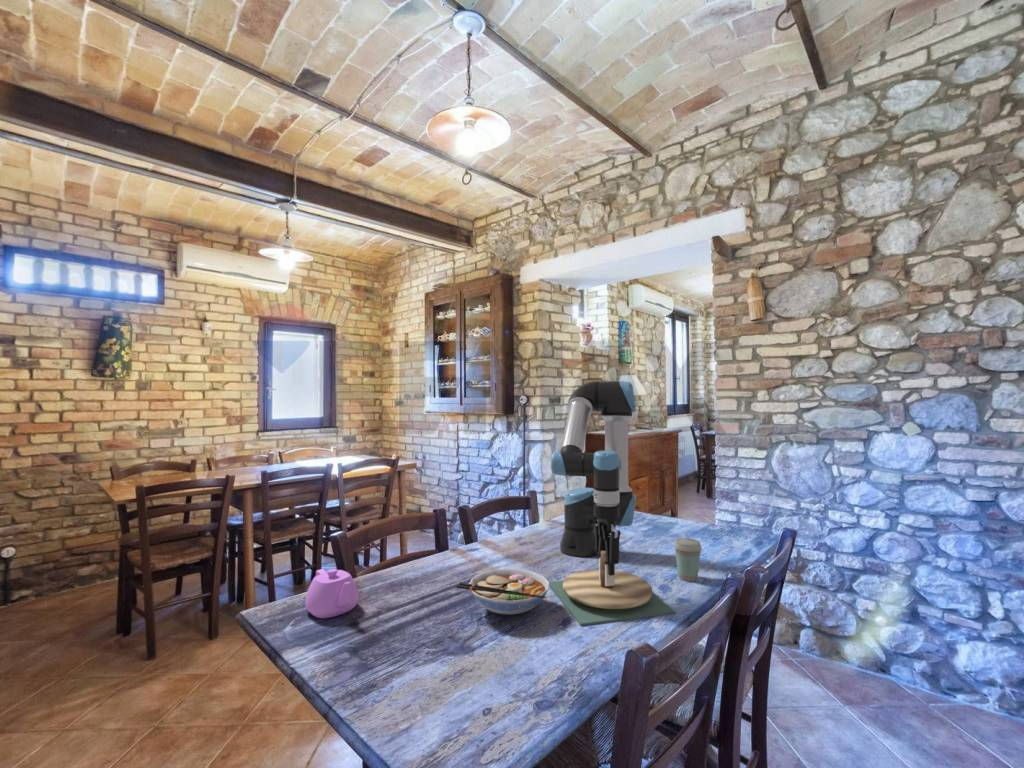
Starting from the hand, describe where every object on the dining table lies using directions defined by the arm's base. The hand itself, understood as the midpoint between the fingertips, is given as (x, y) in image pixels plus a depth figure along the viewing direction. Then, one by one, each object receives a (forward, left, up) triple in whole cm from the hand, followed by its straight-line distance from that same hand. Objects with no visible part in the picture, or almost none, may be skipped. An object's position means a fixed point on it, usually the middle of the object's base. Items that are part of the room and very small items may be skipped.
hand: (606, 582), depth 145 cm
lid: (0, 0, -2) cm, 2 cm away
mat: (0, 0, -5) cm, 5 cm away
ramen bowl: (0, -30, -5) cm, 30 cm away
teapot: (-12, -78, -5) cm, 79 cm away
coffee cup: (-7, +32, -5) cm, 33 cm away
